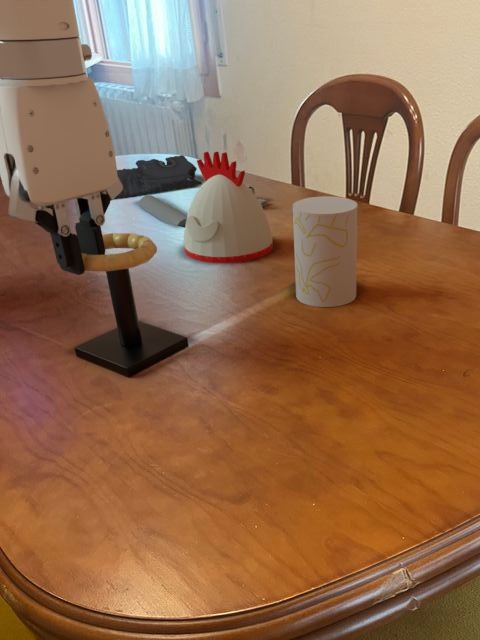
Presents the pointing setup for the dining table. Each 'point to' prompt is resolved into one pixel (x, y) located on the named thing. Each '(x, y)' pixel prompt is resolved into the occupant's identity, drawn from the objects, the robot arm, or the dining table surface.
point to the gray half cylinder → (163, 211)
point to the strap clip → (259, 199)
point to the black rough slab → (157, 176)
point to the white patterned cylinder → (325, 250)
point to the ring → (130, 259)
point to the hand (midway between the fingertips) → (83, 266)
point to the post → (129, 335)
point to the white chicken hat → (225, 217)
